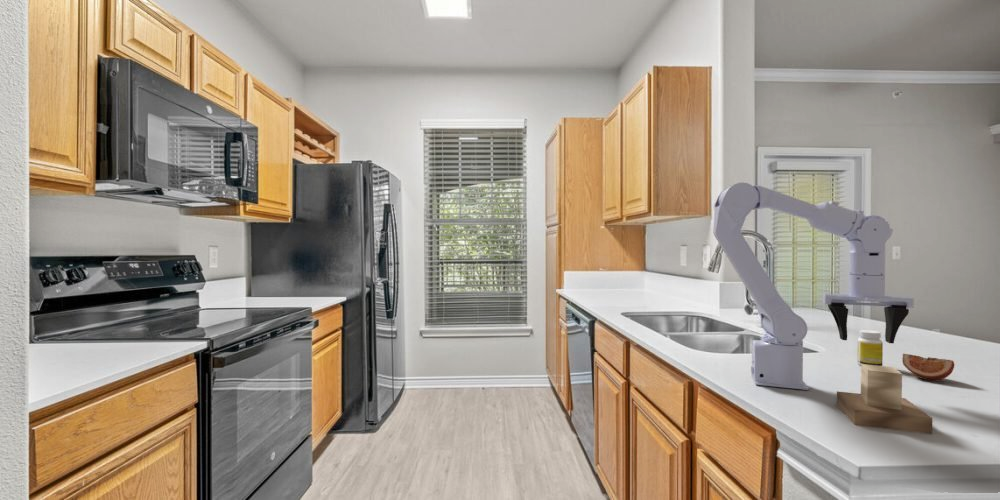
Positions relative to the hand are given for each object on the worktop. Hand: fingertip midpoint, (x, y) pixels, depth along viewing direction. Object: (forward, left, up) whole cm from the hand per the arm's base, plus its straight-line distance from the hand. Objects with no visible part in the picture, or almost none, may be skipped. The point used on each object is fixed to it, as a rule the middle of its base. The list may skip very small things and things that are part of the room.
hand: (866, 340), depth 94 cm
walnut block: (-3, -18, -10) cm, 21 cm away
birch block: (-3, -18, -7) cm, 20 cm away
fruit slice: (+15, +14, -10) cm, 23 cm away
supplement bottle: (+7, +22, -10) cm, 25 cm away
